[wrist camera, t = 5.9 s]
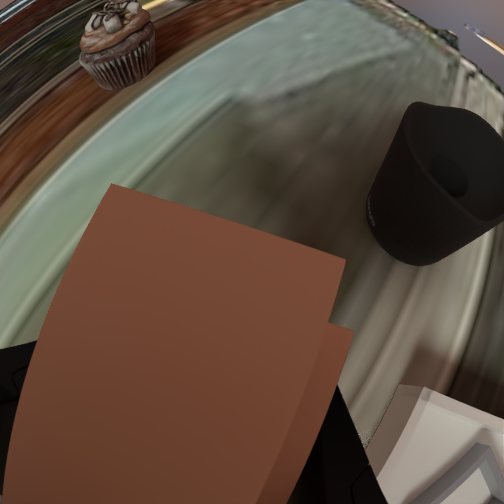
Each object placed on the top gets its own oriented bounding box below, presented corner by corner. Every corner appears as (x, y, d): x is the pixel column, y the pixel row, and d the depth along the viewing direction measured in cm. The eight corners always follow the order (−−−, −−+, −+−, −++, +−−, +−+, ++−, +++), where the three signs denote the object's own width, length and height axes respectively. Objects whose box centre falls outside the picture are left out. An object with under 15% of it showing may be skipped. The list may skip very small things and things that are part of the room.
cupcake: (114, 51, 35) (94, -4, 25) (175, 48, 34) (160, -15, 24) (78, 95, 32) (47, 37, 22) (141, 95, 31) (115, 24, 21)
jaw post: (262, 436, 13) (269, 640, 1) (176, 403, 14) (-45, 467, 2) (295, 352, 15) (438, 293, 3) (209, 321, 15) (54, 166, 3)
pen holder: (386, 156, 27) (425, 78, 18) (464, 212, 25) (525, 154, 15) (340, 228, 24) (380, 151, 15) (432, 294, 22) (510, 251, 13)
